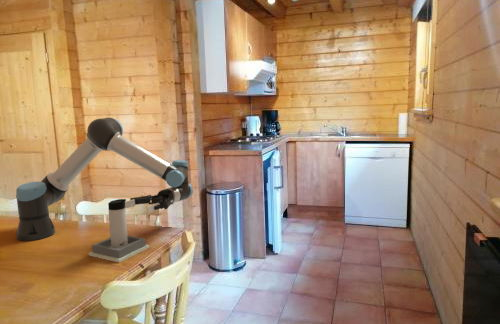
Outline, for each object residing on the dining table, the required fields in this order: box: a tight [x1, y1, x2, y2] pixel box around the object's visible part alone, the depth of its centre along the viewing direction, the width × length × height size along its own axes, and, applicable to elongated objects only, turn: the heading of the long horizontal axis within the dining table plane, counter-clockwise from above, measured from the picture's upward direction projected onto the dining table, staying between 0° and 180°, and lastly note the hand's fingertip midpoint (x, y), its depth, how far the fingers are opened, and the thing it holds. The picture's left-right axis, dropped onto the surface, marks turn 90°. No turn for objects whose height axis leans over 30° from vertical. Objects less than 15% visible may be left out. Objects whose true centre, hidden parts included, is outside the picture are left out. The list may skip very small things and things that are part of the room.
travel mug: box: [107, 198, 128, 249], centre depth 145 cm, size 6×7×20 cm
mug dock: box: [88, 234, 150, 264], centre depth 146 cm, size 16×16×4 cm
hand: (135, 207), depth 154 cm, fingers open, 13 cm apart
